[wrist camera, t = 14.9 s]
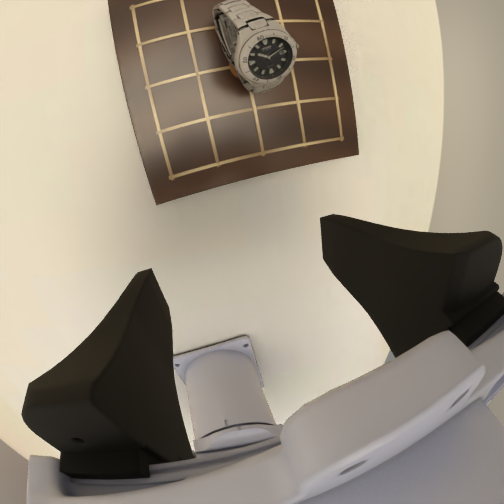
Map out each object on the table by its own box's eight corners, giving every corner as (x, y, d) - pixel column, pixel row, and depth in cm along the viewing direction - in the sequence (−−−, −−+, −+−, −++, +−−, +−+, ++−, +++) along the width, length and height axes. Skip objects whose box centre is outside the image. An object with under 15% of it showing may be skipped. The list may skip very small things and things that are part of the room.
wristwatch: (236, 103, 15) (259, 99, 11) (193, 22, 12) (202, -9, 8) (285, 83, 16) (323, 75, 11) (245, 5, 12) (271, -26, 8)
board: (350, 152, 20) (360, 155, 19) (157, 200, 18) (156, 206, 17) (318, -20, 13) (326, -26, 12) (110, 4, 11) (107, -3, 10)
